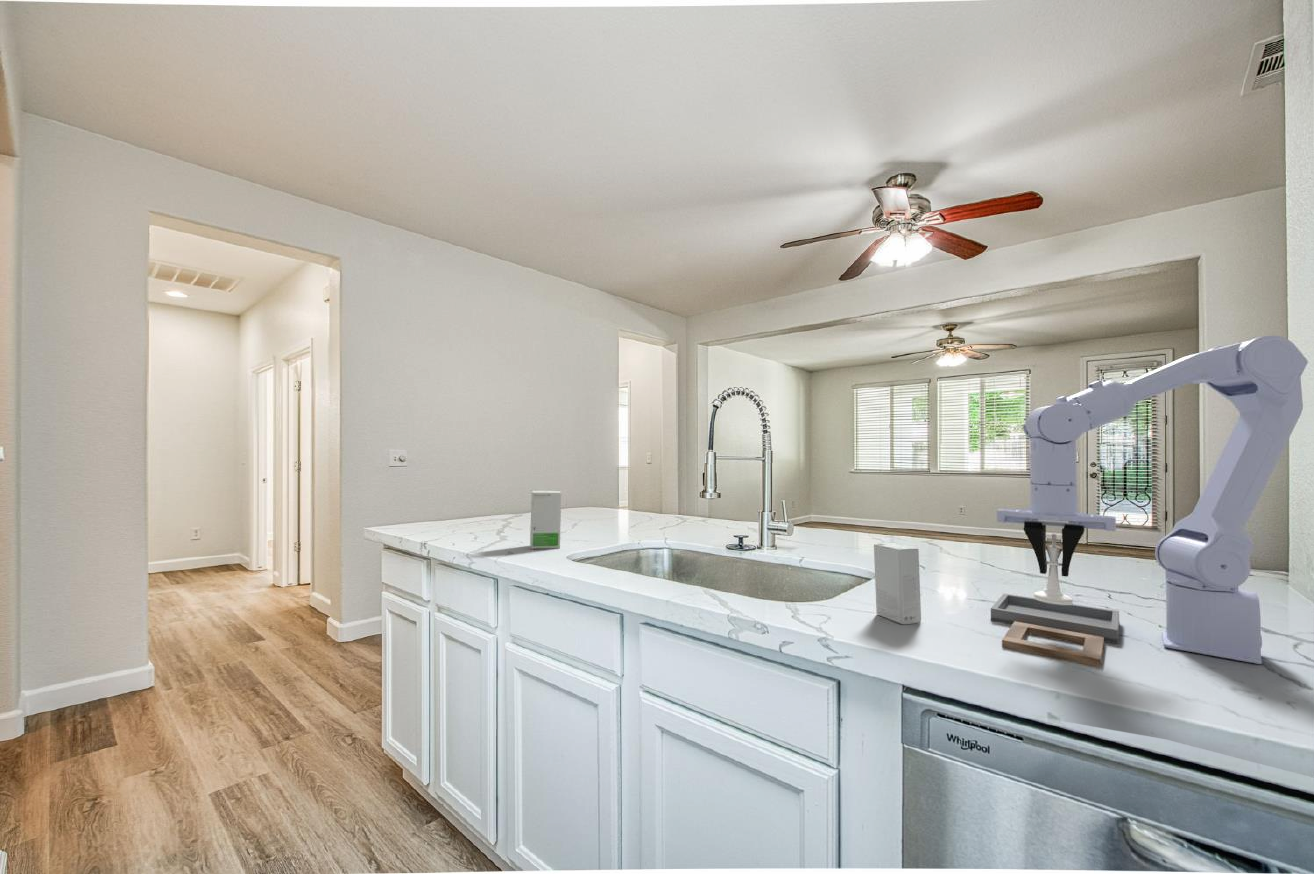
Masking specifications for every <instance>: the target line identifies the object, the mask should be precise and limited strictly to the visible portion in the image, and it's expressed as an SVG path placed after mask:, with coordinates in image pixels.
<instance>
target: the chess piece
mask: <svg viewBox="0 0 1314 874" xmlns="http://www.w3.org/2000/svg"><path fill="white" fill-rule="evenodd" d="M1046 541H1047V542H1051V544H1050V545H1047V546H1046V553H1047V555H1048V558H1049V560H1047V561H1046V562H1045V563H1046V564H1047V566H1048V565H1049V569H1048V570H1049V571H1048V576H1047V581H1046V582H1047V583H1046V587H1044V588H1043V590H1041V591H1036V592H1034V593H1033V597H1032V598H1034V599H1035V600H1038V601H1041V602H1045V603H1050V604H1057V605H1073V604H1074V602H1073V601H1074V600H1073V598H1072V597H1070V596H1069V595H1066V594H1064V593H1062V592H1063V590H1061V587H1060V580H1059V570H1058V567H1060V566H1061V567H1062V562H1061V561H1059V558H1060V556H1061V553H1062V552H1063V547H1060V546H1058V545H1057V543H1062V539H1061V538H1057V533H1053V534H1051V537H1046Z"/></svg>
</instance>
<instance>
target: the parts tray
mask: <svg viewBox="0 0 1314 874" xmlns="http://www.w3.org/2000/svg"><path fill="white" fill-rule="evenodd" d="M990 621H991V622H996V623H1003V624H1009V625H1012V624H1013V623H1014V621H1016V622H1022V623H1027V624H1033V625H1038V626H1044V627H1050V628H1055V629H1061V630H1066V631H1072V632H1077V633H1083V634H1088V635H1094V636H1100V637H1104V643H1105V642H1106V643H1110V644H1111V643H1112V644H1117V645H1118V644H1119V635H1120V632H1119V631H1120V611H1118V610H1113V609H1107V608H1100V607H1096V606H1095V607H1094V606H1089V605H1082V604H1075V603H1073V605H1057V604H1050V603H1045V602H1041V601H1038V600H1035V599H1034V598H1033V597H1030V596H1023V595H1022V596H1021V595H1016V594H1009V593H1003V594H1001V596H999V598H998V599H997V601H995V603H994V604H993V605H992V607H991V608H990Z"/></svg>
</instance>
